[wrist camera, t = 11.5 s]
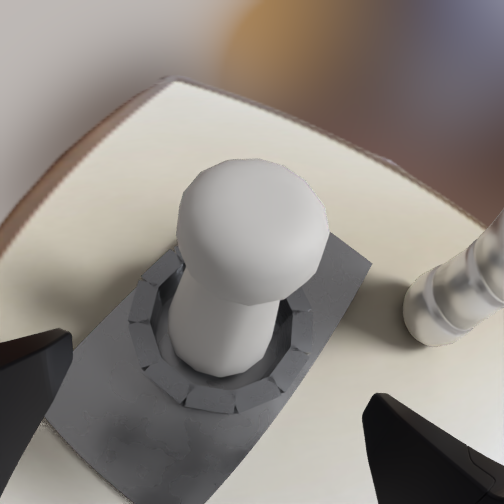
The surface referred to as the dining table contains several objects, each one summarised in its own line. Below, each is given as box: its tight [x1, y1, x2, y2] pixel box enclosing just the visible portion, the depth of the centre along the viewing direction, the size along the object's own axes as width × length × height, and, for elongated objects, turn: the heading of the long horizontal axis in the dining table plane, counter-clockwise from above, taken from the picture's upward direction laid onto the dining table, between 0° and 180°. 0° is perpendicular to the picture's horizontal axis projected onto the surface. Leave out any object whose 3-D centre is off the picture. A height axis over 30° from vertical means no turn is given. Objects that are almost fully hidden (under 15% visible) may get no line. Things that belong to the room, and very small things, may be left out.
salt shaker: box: [168, 159, 330, 377], centre depth 13 cm, size 6×6×13 cm
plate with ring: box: [44, 232, 372, 504], centre depth 18 cm, size 24×12×4 cm, turn 144°
